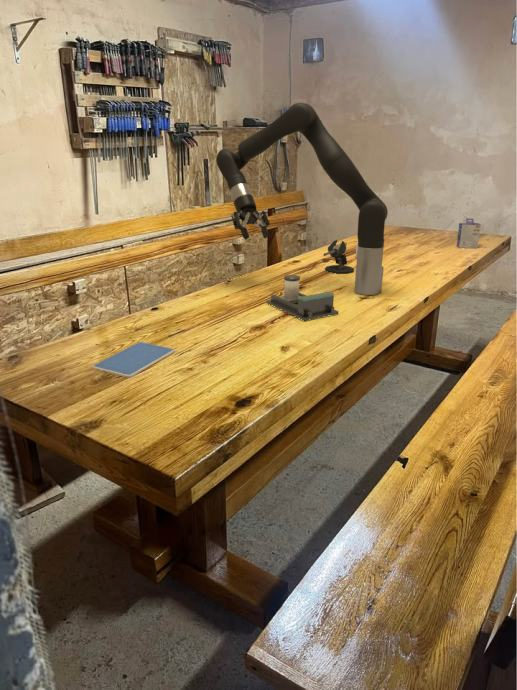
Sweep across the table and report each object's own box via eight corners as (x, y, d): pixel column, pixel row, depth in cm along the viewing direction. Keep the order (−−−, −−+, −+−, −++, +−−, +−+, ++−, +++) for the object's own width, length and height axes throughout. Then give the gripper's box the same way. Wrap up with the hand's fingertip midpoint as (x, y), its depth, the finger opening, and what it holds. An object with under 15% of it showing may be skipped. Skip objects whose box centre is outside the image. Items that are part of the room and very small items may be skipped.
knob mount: (299, 297, 194) (299, 279, 192) (338, 314, 177) (339, 294, 175) (266, 303, 188) (266, 285, 185) (303, 321, 170) (304, 301, 168)
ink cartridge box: (474, 246, 284) (478, 218, 279) (478, 248, 279) (482, 219, 273) (455, 246, 284) (459, 218, 279) (459, 248, 279) (463, 219, 274)
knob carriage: (294, 296, 191) (295, 273, 188) (304, 301, 186) (305, 277, 183) (278, 299, 187) (278, 276, 184) (287, 304, 182) (288, 280, 179)
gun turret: (312, 274, 226) (313, 243, 221) (333, 265, 241) (335, 236, 236) (339, 279, 219) (341, 247, 215) (359, 269, 235) (362, 239, 230)
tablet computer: (130, 380, 131) (129, 375, 130) (90, 370, 136) (90, 365, 136) (176, 353, 147) (176, 349, 146) (139, 345, 152) (139, 340, 152)
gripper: (231, 193, 193) (245, 233, 189) (263, 193, 201) (277, 231, 197) (222, 205, 199) (236, 244, 195) (253, 204, 207) (267, 242, 203)
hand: (257, 237), depth 196 cm, fingers open, 8 cm apart
